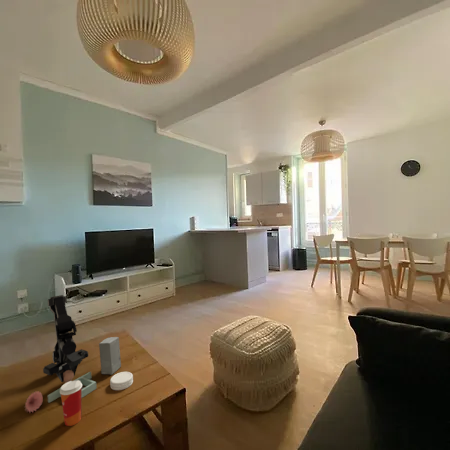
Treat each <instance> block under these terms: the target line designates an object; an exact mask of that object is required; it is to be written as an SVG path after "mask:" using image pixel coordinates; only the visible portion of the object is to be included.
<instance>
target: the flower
mask: <svg viewBox="0 0 450 450" xmlns="http://www.w3.org/2000/svg"><path fill="white" fill-rule="evenodd" d="M27 397H28V398H26V399H25V400H26V402H24V404H25V406H24V408H25V409H24V411H26V413H28V412H29V414H31V412H32V414H33V413H34V411H35V412H37V410H38V409H40V407H41V405H42V404H43V401H44V399H43V397H44V396H43V393H41V391H38V390H37V391H33V392H30V395H28V396H27Z"/></svg>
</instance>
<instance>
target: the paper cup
mask: <svg viewBox="0 0 450 450" xmlns="http://www.w3.org/2000/svg"><path fill="white" fill-rule="evenodd" d="M74 380H75V381H74ZM74 380H71V381H69V382H64V384H63V385H61V387H60V388H61V390H60V394H61V397H60V398H61V406H62V413H63V419H64V420H63V421H64V425H65V426H66V427H72V426H75V425H76V424H78V423H79V422H81V419H82V398H81V391H82V388H83V385H82V383H81V382H80V381H79V380H77V381H76V379H74Z"/></svg>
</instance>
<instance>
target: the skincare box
mask: <svg viewBox="0 0 450 450" xmlns="http://www.w3.org/2000/svg"><path fill="white" fill-rule="evenodd" d="M98 348H99V359H100V373H101V374H102V375H112V376H114V375H113V374H115V373H116V372H117V371H118V370H119V369H120V368H121V367H122V362H121V361H122V360H121V359H122V358H121V351H120V348H121V347H120V337H118V336H109V337H107V338H105V339H103V340H102V341H101V342H99V343H98Z"/></svg>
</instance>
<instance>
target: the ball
mask: <svg viewBox="0 0 450 450" xmlns="http://www.w3.org/2000/svg"><path fill="white" fill-rule="evenodd" d="M74 377H75V376H74V373H73V371H71V370H67V371H65V372H64V373H63V378H64V382H63V383H67V382H69V381H73V378H74Z"/></svg>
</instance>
